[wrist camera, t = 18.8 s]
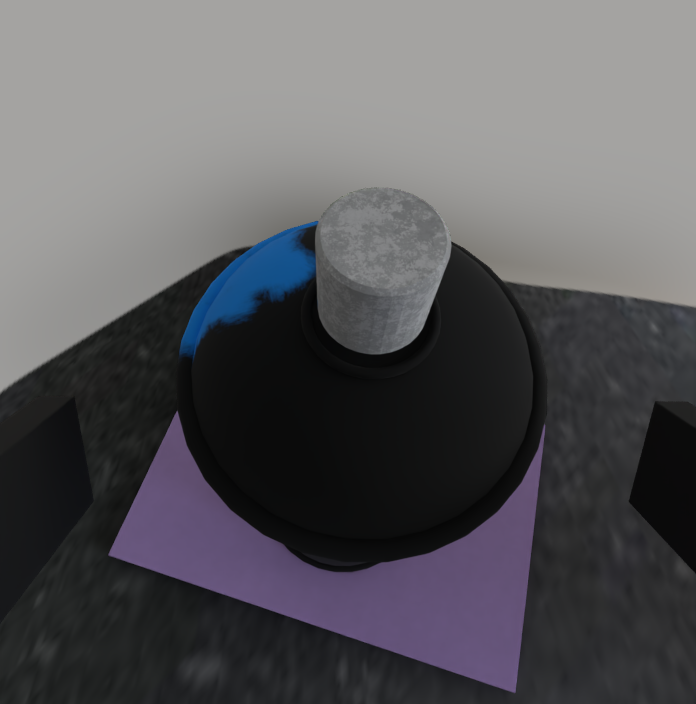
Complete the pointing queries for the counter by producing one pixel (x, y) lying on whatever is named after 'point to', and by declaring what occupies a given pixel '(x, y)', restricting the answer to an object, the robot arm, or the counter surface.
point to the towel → (346, 587)
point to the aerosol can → (362, 385)
